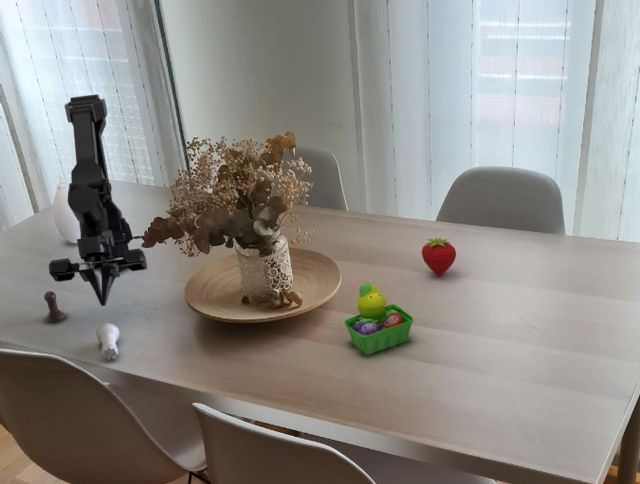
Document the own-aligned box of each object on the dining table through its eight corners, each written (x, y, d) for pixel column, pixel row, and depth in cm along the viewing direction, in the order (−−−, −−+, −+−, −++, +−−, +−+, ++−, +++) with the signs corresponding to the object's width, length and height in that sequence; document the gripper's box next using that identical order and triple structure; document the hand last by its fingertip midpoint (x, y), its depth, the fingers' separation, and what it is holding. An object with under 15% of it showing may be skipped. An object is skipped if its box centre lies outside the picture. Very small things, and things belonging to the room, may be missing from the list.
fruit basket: (363, 361, 159) (360, 307, 153) (341, 340, 166) (336, 288, 160) (416, 342, 163) (414, 289, 157) (391, 323, 170) (389, 271, 164)
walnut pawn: (58, 313, 185) (50, 286, 182) (67, 317, 184) (60, 290, 180) (44, 320, 183) (37, 293, 180) (54, 324, 181) (46, 297, 178)
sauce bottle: (88, 247, 215) (71, 177, 205) (57, 249, 215) (38, 180, 206) (95, 234, 221) (79, 166, 212) (65, 236, 222) (48, 169, 212)
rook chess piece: (122, 326, 172) (125, 348, 166) (114, 343, 174) (116, 366, 168) (101, 319, 170) (103, 341, 164) (92, 337, 172) (94, 360, 166)
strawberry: (449, 284, 182) (449, 241, 176) (417, 279, 185) (416, 236, 180) (460, 273, 186) (461, 230, 181) (428, 267, 189) (427, 225, 184)
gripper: (37, 223, 168) (45, 300, 164) (134, 210, 169) (144, 286, 166) (52, 244, 179) (59, 316, 175) (142, 232, 180) (152, 303, 177)
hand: (103, 305), depth 173 cm, fingers closed
